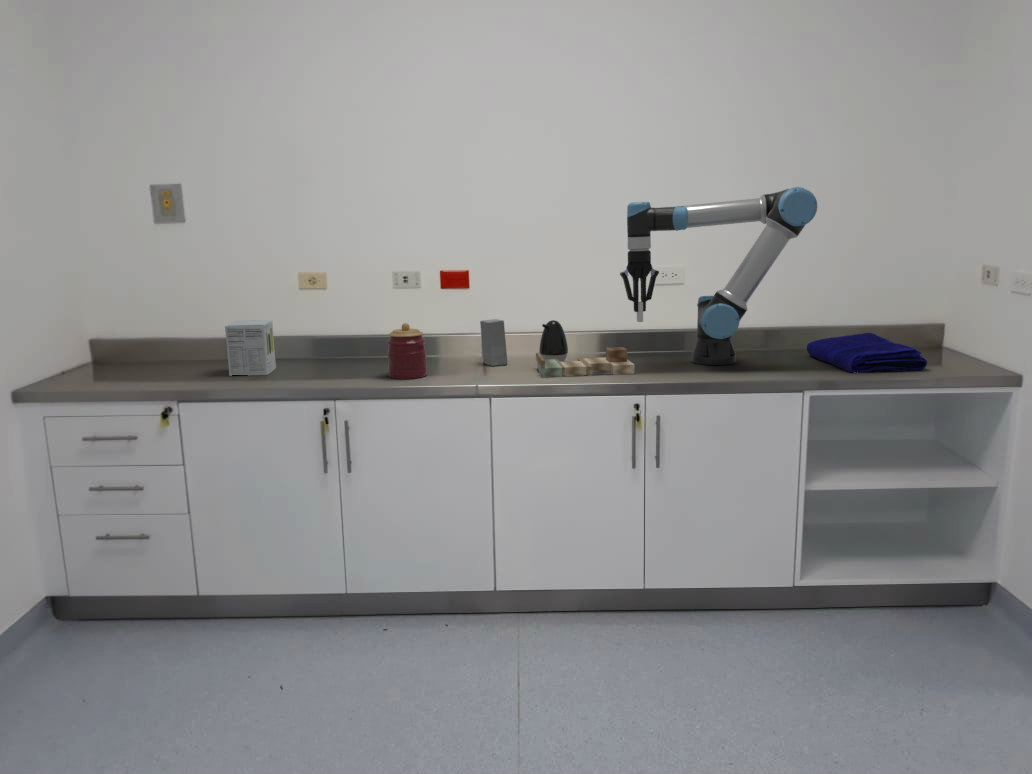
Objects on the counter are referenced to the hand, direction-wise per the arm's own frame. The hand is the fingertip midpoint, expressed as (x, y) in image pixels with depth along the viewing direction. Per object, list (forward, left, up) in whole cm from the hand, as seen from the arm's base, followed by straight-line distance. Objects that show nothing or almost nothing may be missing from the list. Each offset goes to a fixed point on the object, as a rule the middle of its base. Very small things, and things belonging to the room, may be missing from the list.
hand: (639, 321), depth 275 cm
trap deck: (+19, +1, -16) cm, 25 cm away
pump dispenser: (+27, -17, -16) cm, 36 cm away
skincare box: (+48, -19, -16) cm, 54 cm away
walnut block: (+8, 0, -13) cm, 15 cm away
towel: (-76, +6, -17) cm, 78 cm away
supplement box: (+132, -21, -16) cm, 135 cm away
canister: (+78, -3, -16) cm, 80 cm away
